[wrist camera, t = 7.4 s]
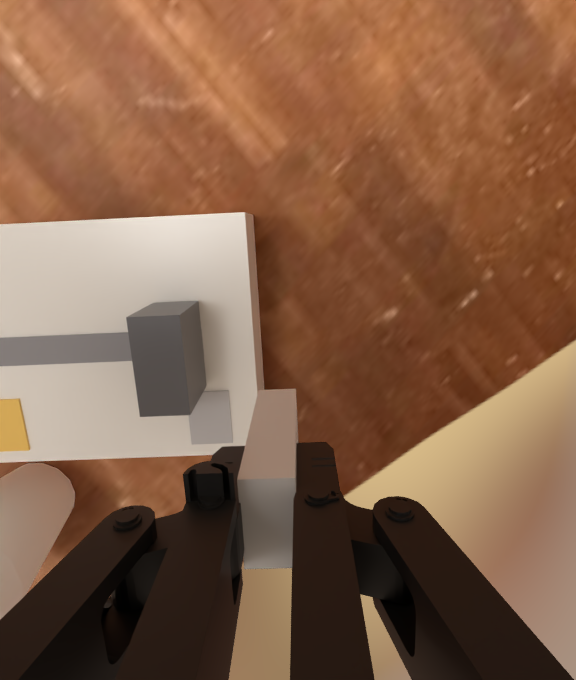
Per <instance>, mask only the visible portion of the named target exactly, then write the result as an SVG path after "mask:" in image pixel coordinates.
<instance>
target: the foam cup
mask: <svg viewBox="0 0 576 680" xmlns="http://www.w3.org/2000/svg"><path fill="white" fill-rule="evenodd" d="M74 502H75V491H74V489H73V486H72V484H71V481H70V480H69V479H68V478H67V477H66V476H65V475H64V474H63V473H62V472H61V471H60V470H59V469H57V468H55V467H52V466H50V465H47V464H45V463H27V464H25V465H23V466H21V467H19V468H17V469H15V470H14V471H11V472H9V473H8V474H6V475H5V476H3V477H1V478H0V619H2V618H3V617H4V616H5V615H6V614H7V613H8V612H9V611H10V610H11V609H12V608H13V607H14V606H15V605H16V604H17V603H18V602H19V601H20V600H21V599H22V598H23V597H24V596H25V595H26V594H27V592H28V590H29V588H30V586H31V584H32V583H33V581H34V579H35V577H36V575H37V574H38V572H39V570H40V568H41V566H42V564H43V563H44V561H45V559H46V557H47V555H48V553H49V552H50V550H51V548H52V546H53V544H54V543H55V541H56V539H57V537H58V535H59V533H60V532H61V530H62V528H63V526H64V524H65V522H66V521H67V519H68V517H69V515H70V513H71V512H72V509H73V507H74Z"/></svg>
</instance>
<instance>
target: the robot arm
mask: <svg viewBox="0 0 576 680" xmlns="http://www.w3.org/2000/svg"><path fill="white" fill-rule="evenodd" d="M183 478H184V487H185V496H186V504H185V506H184V509H183V511H181V512H179V513H176V514H173V515H169V516H165V517H161V518H157V519H155V514H154V511H153V510H152V509H151V508H149V507H145V506H129V507H124V508H122V509H119V510H117V511H115V512H113V513H111V514H110V515H109V516H107V517H106V518H105V519H104V520H103V521H102V522H101V523H100V524H99V525H97V526H96V527H95V528H94V529H93V530H92V531H91V532H90V533H89V534H88V535H87V536H86V537H85V538H84V539H83V540H82V541H81V542H80V543H79V544H78V545H77V546H76V547H75V548H74V549H73V550H72V551H71V552H70V553H69V554H68V555H67V556H66V557H64V558H63V559H62V560H61V561H60V562H59V563H58V564H57V565H56V566H55V567H54V568H53V569H52V570H51V571H50V572H49V573H48V574H47V575H46V576H45V577H44V578H43V579H42V580H41V581H40V582H39V583H38V584H37V585H36V586H35V587H34V588H32V589H31V590H30V591H29V592H28V593H27V594H26V595H25V596H24V597H23V598H22V599H21V600H20V601H19V602H18V603H17V604H16V605H15V606H14V607H13V608H12V609H11V610H10V611H9V612H8V613H7V614H6V615H5V616H4V617H3V618H2V619H0V680H228V679H229V672H230V665H231V659H232V652H233V645H234V639H235V632H236V626H237V619H238V612H239V606H240V599H241V592H242V586H243V581H242V569H241V567H242V561H243V557H244V569H268V568H269V569H271V568H292V607H291V608H292V609H291V664H290V680H374V674H373V668H372V662H371V656H370V651H369V644H368V639H367V633H366V627H365V621H364V615H363V609H362V603H361V598H360V594H362V595H366V596H370V597H373V601H374V605H375V608H376V609H377V611H378V614H379V615H380V617H381V619H382V621H383V623H384V625H385V627H386V629H387V631H388V633H389V635H390V637H391V639H392V641H393V643H394V645H395V647H396V649H397V651H398V653H399V655H400V657H401V659H402V661H403V663H404V665H405V667H406V669H407V670H408V673H409V675H410V677H411V679H412V680H574V679H573V678H572V677H571V676H570V675H569V673H568V672H567V671H566V670H565V669H564V668H563V667H562V665H561V664H560V663H559V662H558V661H557V660H556V658H555V657H554V656H553V655H552V654H551V653H550V651H549V650H548V649H547V648H546V647H545V646H544V645H543V643H542V642H541V641H540V640H539V639H538V638H537V636H536V635H535V634H534V633H533V632H532V631H531V630H530V628H529V627H528V626H527V625H526V624H525V623H524V622H523V620H522V619H521V618H520V617H519V616H518V615H517V613H516V612H515V611H514V610H513V609H512V608H511V607H510V605H509V604H508V603H507V602H506V601H505V600H504V598H503V597H502V596H501V595H500V594H499V593H498V592H497V591H496V589H495V588H494V587H493V586H492V585H491V584H490V582H489V581H488V580H487V579H486V578H485V577H484V575H483V574H482V573H481V572H480V571H479V570H478V569H477V567H476V566H475V565H474V564H473V563H472V562H471V560H470V559H469V558H468V557H467V556H466V555H465V554H464V552H462V550H461V549H460V548H459V547H458V546H457V544H456V543H455V542H454V541H453V540H452V539H451V538H450V536H449V535H448V534H447V533H446V532H445V531H444V529H442V527H441V526H440V525H439V524H438V522H437V521H436V520H435V519H434V518H433V517H432V516H431V514H430V513H429V512H428V511H427V510H426V509H425V508H424V507H423V506H422V505H421V504H420V503H418V502H417V501H414V500H412V499H409V498H405V497H399V496H396V497H387V498H383V499H380V500H379V501H378V502H377V503H375V505H374V508H373V510H370V509H365V508H361V507H357V506H354V505H353V504H350V503H349V502H347V501H346V500H345V499H344V497H343V495H342V493H341V491H340V487H339V481H338V475H337V469H336V463H335V457H334V451H333V448H332V447H330V446H329V445H328V444H327V443H326V442H311V443H298V424H297V401H296V389H274V390H259V391H258V395H257V399H256V403H255V407H254V411H253V416H252V420H251V424H250V428H249V432H248V436H247V440H246V445H245V446H225V447H221V448H220V449H219V450H218V451H216V452H215V453H214V454H213V456H212V459H211V461H207V462H202V463H199V464H196V465H193V466H192V467H190V468H188V469H187V470H186V471H185V473H184V474H183ZM110 595H111V596H110ZM109 596H110V597H109ZM108 598H109V599H108Z"/></svg>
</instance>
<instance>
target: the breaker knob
mask: <svg viewBox="0 0 576 680" xmlns="http://www.w3.org/2000/svg"><path fill="white" fill-rule="evenodd" d="M126 320H127V327H128V335H129V342H130V349H131V356H132V363H133V370H134V378H135V385H136V392H137V399H138V406H139V413H140V417H153V416H179V415H191V413H192V411H193V410H194V408H195V406H196V404H197V402H198V401H199V399H200V397H201V395H202V393H203V392H204V390H205V388H206V386H207V383H206V373H205V363H204V353H203V343H202V332H201V322H200V312H199V302H198V301H178V302H156V303H152V304H150V305H148V306H146V307H144V308H143V309H141V310H139V311H137V312H135V313H133V314H131V315H129V316H128V317H126Z"/></svg>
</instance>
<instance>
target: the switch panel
mask: <svg viewBox="0 0 576 680" xmlns="http://www.w3.org/2000/svg"><path fill="white" fill-rule="evenodd" d="M178 301H198V302H199V312H200V322H201V332H202V343H203V353H204V363H205V373H206V383H207V386H206V388H205V390H204V392H203V393H202V395H201V397H200V399H199V401H198V402H197V404H196V406H195V408H194V410H193V411H192V413H191V415H179V416H153V417H140V413H139V406H138V399H137V392H136V385H135V378H134V370H133V363H132V356H131V349H130V342H129V335H128V327H127V320H126V317H128V316H129V315H131V314H133V313H135V312H137V311H139V310H141V309H143V308H144V307H146V306H148V305H150V304H152V303H156V302H178ZM259 390H264V374H263V359H262V343H261V328H260V312H259V296H258V281H257V265H256V250H255V234H254V218H253V215H252V214H249V213H246V212H239V213H219V214H199V215H179V216H159V217H139V218H119V219H98V220H78V221H58V222H38V223H18V224H0V463H5V462H32V461H60V460H87V459H115V458H142V457H170V456H197V455H213V454H214V453H215V452H216V451H218V450H219V449H220V448H221V447H225V446H245V445H246V440H247V436H248V432H249V428H250V424H251V420H252V416H253V411H254V407H255V403H256V399H257V395H258V391H259Z"/></svg>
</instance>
